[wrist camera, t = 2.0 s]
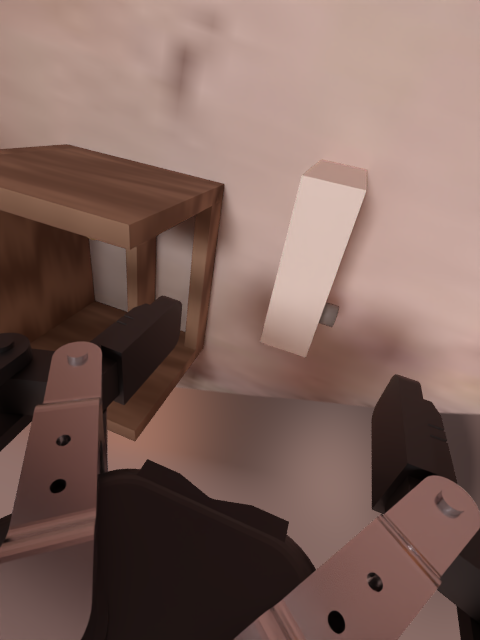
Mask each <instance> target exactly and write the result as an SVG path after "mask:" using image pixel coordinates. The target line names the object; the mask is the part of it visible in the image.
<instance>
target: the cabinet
mask: <svg viewBox="0 0 480 640" xmlns="http://www.w3.org/2000/svg"><path fill="white" fill-rule="evenodd" d="M223 190H224V184H222V183H218V182H214V181H210V180H206V179H202V178H198V177H194V176H190V175H186V174H183V173H179V172H175V171H171V170H167V169H163V168H159V167H155V166H151V165H147V164H143V163H139V162H135V161H131V160H127V159H123V158H119V157H115V156H111V155H107V154H103V153H99V152H95V151H91V150H87V149H83V148H79V147H75V146H71V145H67V144H66V145H53V146H39V147H26V148H13V149H0V334H1V333H19V334H22V335H25V336H26V337H27V338H28V339H29V341H30V345H31V348H32V349H41V350H50V351H56V350H57V349H59V348H60V347H62V346H64V345H66V344H69V343H73V342H82V341H83V342H90V341H91V340H93V339H94V338H95V337H97V336H98V335H99V334H100V333H102V332H103V331H104V330H106V329H107V328H108V327H109V326H111V325H112V324H113V323H115V322H117V320H118V319H120V318H121V317H122V316H123V317H124V315H125V314H126V313H127V312H125V311H122V310H119V309H117V308H114V307H111V306H108V305H105V304H102V303H99V302H96V301H95V298H94V288H93V278H92V268H91V258H90V248H89V239H91V240H99V241H102V242H106V243H109V244H112V245H115V246H119V247H122V248H125V249H126V268H127V297H128V312H129V311H130V310H131V309H133V308H134V307H137V306H140V305H143V304H149V305H150V304H152V303H153V302H154V301H155V274H156V236H157V235H159V234H161V233H162V232H164V231H166V230H168V229H170V228H172V227H174V226H175V225H177V224H179V223H181V222H183V221H185V220H187V219H188V218H190V217H192V216H194V215H196V217H195V229H194V240H193V252H192V264H191V275H190V287H189V298H188V310H187V321H186V332H183V331H180V336H179V340H178V342H177V344H176V346H175V348H174V349H173V350H172V351H171V352H170V354H169V355H168V356H167V357H166V358H165V359H164V361H163V362H162V363H161V364H160V365H159V366H158V367H157V369H156V370H155V371H154V372H153V373H152V374H151V375H150V377H149V378H148V379H147V380H146V381H145V382H144V383H143V385H142V386H141V387H140V388H139V389H138V390H137V391H136V393H135V394H134V395H133V396H132V397H131V398H130V399H129V401H128V402H127V403H126V404H125V405H122V404H120V403H117V402H115V401H113V402H112V403H111V404H110V405H109V406H108V407H107V430H110V431H112V432H114V433H117V434H119V435H121V436H124V437H126V438H128V439H131V440H133V441H136V439H137V438H138V437H139V435H140V434H141V433H142V431H143V430H144V428H145V427H146V426H147V424H148V423H149V422H150V420H151V419H152V417H153V416H154V415H155V413H156V412H157V411H158V409H159V408H160V407H161V405H162V404H163V403H164V401H165V400H166V398H167V397H168V396H169V394H170V393H171V391H172V390H173V389H174V387H175V386H176V385H177V383H178V382H179V381H180V379H181V378H182V376H183V375H184V374H185V372H186V371H187V370H188V368H189V367H190V366H191V364H192V363H193V361H194V360H195V359H196V357H197V356H198V355H199V353H200V352H201V350H202V349H203V345H204V337H205V330H206V322H207V314H208V306H209V299H210V291H211V283H212V275H213V268H214V260H215V252H216V244H217V237H218V229H219V221H220V213H221V205H222V198H223Z"/></svg>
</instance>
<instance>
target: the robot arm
mask: <svg viewBox="0 0 480 640" xmlns="http://www.w3.org/2000/svg"><path fill="white" fill-rule="evenodd" d="M181 313H182V303H181V302H180V301H178V300H175V299H172V298H169V297H166V296H160V297H159V298H158V299H157V300H155V301H154V302H153V303H152V304H150V305H149V304H143V305H140V306H137V307H134V308H133V309H131V310H130V311H129V312H127V313H126V314H125V315H124V317H123V316H122V317H121V318H120V319H118V320H117V322H115V323H113V324H112V325H111V326H109V327H108V328H107V329H106V330H104V331H103V332H102V333H100V334H99V335H98V336H97V337H95V338H94V339H93V340H91V341H90V342H83V341H82V342H73V343H69V344H66V345H64V346H62V347H60V348H59V349H57V350H56V351H50V350H41V349H32V348H31V345H30V341H29V339H28V338H27V337H26V336H25V335H22V334H19V333H1V334H0V451H1V450H2V449H3V448H4V447H5V446H6V445H8V444H9V443H10V442H11V441H12V440H13V439H14V438H15V437H16V436H17V435H18V434H19V433H20V432H21V431H22V430H23V429H24V428H25V427H26V426H27V425H28V424H29V423H30V422H31V421H32V423H31V428H30V433H29V437H28V442H27V447H26V451H25V456H24V461H23V465H22V470H21V475H20V479H19V484H18V489H17V493H16V498H15V502H14V507H13V511H12V514H10V515H7V516H5V517H3V518H1V519H0V640H398V638H399V637H400V636H401V635H402V633H403V632H404V631H405V630H406V628H407V627H408V626H409V625H410V623H411V622H412V621H413V619H414V618H415V617H416V616H417V614H418V613H419V612H420V610H421V609H422V608H423V607H424V605H425V604H426V603H427V602H428V600H429V599H430V598H431V596H432V595H433V594H434V593H435V591H436V590H438V591H439V592H440V593H442V594H443V595H444V596H445V597H447V598H448V599H449V600H450V601H452V602H453V603H454V604H456V605H457V613H458V621H459V628H460V636H461V640H480V512H479V509H478V507H477V505H476V504H475V502H474V501H473V499H472V498H471V497H470V496H469V494H468V493H467V492H466V491H465V490H464V489H462V488H461V487H460V486H459V485H458V484H457V480H456V476H455V472H454V468H453V464H452V459H451V455H450V451H449V447H448V443H446V441H447V439H446V435H445V432H444V426H443V422H442V418H441V415H440V414H439V412H438V411H437V409H436V408H435V406H434V405H433V403H432V402H430V401H427V400H424V399H423V395H422V390H421V385H420V383H419V382H418V381H415V380H412V379H409V378H406V377H403V376H400V375H397V374H395V375H394V376H393V377H392V378H391V380H390V382H389V383H388V385H387V387H386V389H385V390H384V392H383V394H382V395H381V397H380V399H379V401H378V402H377V404H376V406H375V409H374V412H373V415H372V509H373V510H375V511H377V512H380V513H382V514H384V515H382V514H381V515H379V516H378V517H377V518H375V519H374V520H373V521H372V522H371V523H370V524H368V525H367V526H366V527H365V528H364V529H363V530H362V531H360V532H359V533H358V534H357V535H356V536H355V537H354V538H353V539H351V540H350V541H349V542H348V543H347V544H346V545H344V546H343V547H342V548H341V549H340V550H339V551H337V552H336V553H335V554H334V555H333V556H332V557H331V558H330V559H328V560H327V561H326V562H325V563H324V564H323V565H322V566H320V567H319V568H318V569H317V570H316V569H315V567H314V565H313V564H312V562H311V561H310V559H309V558H308V556H307V555H306V554H305V553H304V551H303V550H302V549H301V548H300V547H299V546H298V545H297V544H296V543H295V542H294V541H293V540H292V539H291V538H290V537H289V536H288V535H286V534H287V529H288V524H289V522H288V521H286V520H284V519H281V518H279V517H277V516H274V515H272V514H270V513H268V512H265V511H263V510H261V509H259V508H256V507H254V506H252V505H246V504H239V503H233V502H227V501H221V500H214V499H212V498H209V497H208V496H207V495H205V494H204V493H203V492H202V491H201V490H199V489H198V488H197V487H196V486H194V485H193V484H192V483H191V482H189V481H188V480H187V479H186V478H185V477H183V476H182V475H181V474H180V473H177V472H175V471H173V470H171V469H168V468H166V467H164V466H162V465H159V464H157V463H155V462H153V461H150V460H146V462H145V463H144V465H143V466H142V468H141V469H119V470H113V471H108V461H107V407H108V406H109V405H110V404H111V403H112V402H113V401H115V402H117V403H120V404H122V405H125V404H126V403H127V402H128V401H129V399H130V398H131V397H132V396H133V395H134V394H135V393H136V391H137V390H138V389H139V388H140V387H141V386H142V385H143V383H144V382H145V381H146V380H147V379H148V378H149V377H150V375H151V374H152V373H153V372H154V371H155V370H156V369H157V367H158V366H159V365H160V364H161V363H162V362H163V361H164V359H165V358H166V357H167V356H168V355H169V354H170V352H171V351H172V350H173V349H174V348H175V346H176V344H177V342H178V340H179V336H180V326H181Z"/></svg>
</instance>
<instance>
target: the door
mask: <svg viewBox="0 0 480 640" xmlns="http://www.w3.org/2000/svg"><path fill="white" fill-rule="evenodd" d="M366 191H367V169H362V168H358V167H353V166H349V165H344V164H340V163H335V162H331V161H326V160H322V159H321V160H320V161H319V162H318V163H316V164H315V165H314V166H313V167H311V168H310V169H309V170H308V171H306V172H305V173H304V174H303V175H302V176H301V180H300V184H299V188H298V192H297V196H296V200H295V204H294V208H293V212H292V216H291V220H290V224H289V228H288V232H287V236H286V240H285V244H284V248H283V252H282V256H281V260H280V264H279V268H278V272H277V276H276V280H275V284H274V288H273V292H272V296H271V300H270V304H269V308H268V312H267V316H266V320H265V324H264V328H263V332H262V336H261V340H260V343H263V344H266V345H269V346H272V347H275V348H278V349H281V350H284V351H287V352H290V353H293V354H296V355H299V356H302V357H305V358H306V356H307V353H308V350H309V347H310V345H311V342H312V339H313V336H314V334H315V331H316V328H317V325H318V323H320V324H324V325H327V326H330V327H332V326H333V324H334V322H335V319H336V317H337V313H338V310H339V306H336V305H333V304H330V303H326V301H327V298H328V295H329V292H330V290H331V287H332V284H333V281H334V279H335V276H336V273H337V270H338V268H339V265H340V262H341V259H342V257H343V254H344V251H345V248H346V246H347V243H348V240H349V237H350V235H351V232H352V229H353V226H354V224H355V221H356V218H357V215H358V213H359V210H360V207H361V204H362V202H363V199H364V196H365V193H366Z"/></svg>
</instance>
